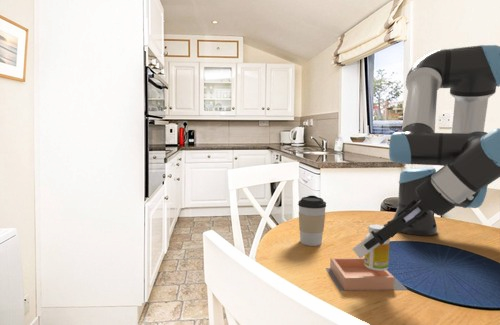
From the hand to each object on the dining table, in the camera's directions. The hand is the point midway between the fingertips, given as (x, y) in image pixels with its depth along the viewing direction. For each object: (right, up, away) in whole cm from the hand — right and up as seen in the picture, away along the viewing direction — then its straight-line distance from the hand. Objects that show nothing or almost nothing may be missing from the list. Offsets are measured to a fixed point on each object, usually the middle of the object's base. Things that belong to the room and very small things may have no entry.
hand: (361, 249), depth 79 cm
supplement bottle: (+3, -4, -2) cm, 5 cm away
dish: (0, -8, +2) cm, 8 cm away
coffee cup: (-7, -5, +28) cm, 30 cm away
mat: (+1, -8, +2) cm, 8 cm away
